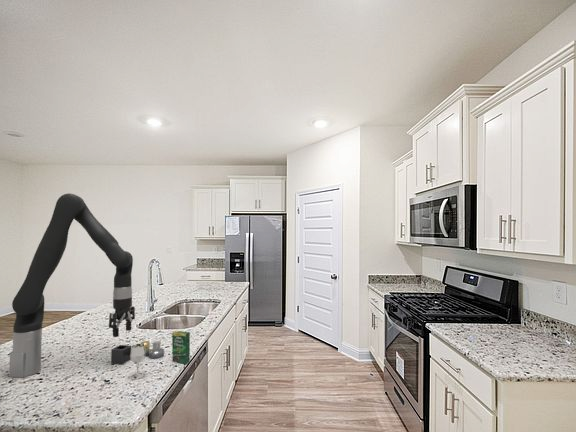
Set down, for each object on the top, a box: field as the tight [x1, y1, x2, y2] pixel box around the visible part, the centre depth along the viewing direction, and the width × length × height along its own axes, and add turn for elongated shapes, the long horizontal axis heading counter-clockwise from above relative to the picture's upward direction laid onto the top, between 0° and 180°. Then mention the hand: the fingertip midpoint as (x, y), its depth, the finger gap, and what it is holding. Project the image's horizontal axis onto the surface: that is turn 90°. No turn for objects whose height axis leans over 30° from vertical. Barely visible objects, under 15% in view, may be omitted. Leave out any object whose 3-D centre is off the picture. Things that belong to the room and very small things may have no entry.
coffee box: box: [171, 330, 191, 365], centre depth 145 cm, size 8×3×13 cm, turn 66°
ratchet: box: [145, 340, 165, 360], centre depth 152 cm, size 6×18×6 cm, turn 81°
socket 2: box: [140, 340, 151, 350], centre depth 158 cm, size 4×4×4 cm
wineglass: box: [130, 343, 146, 380], centre depth 131 cm, size 6×6×12 cm
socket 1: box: [110, 344, 132, 365], centre depth 145 cm, size 6×6×6 cm
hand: (122, 333), depth 146 cm, fingers open, 8 cm apart
